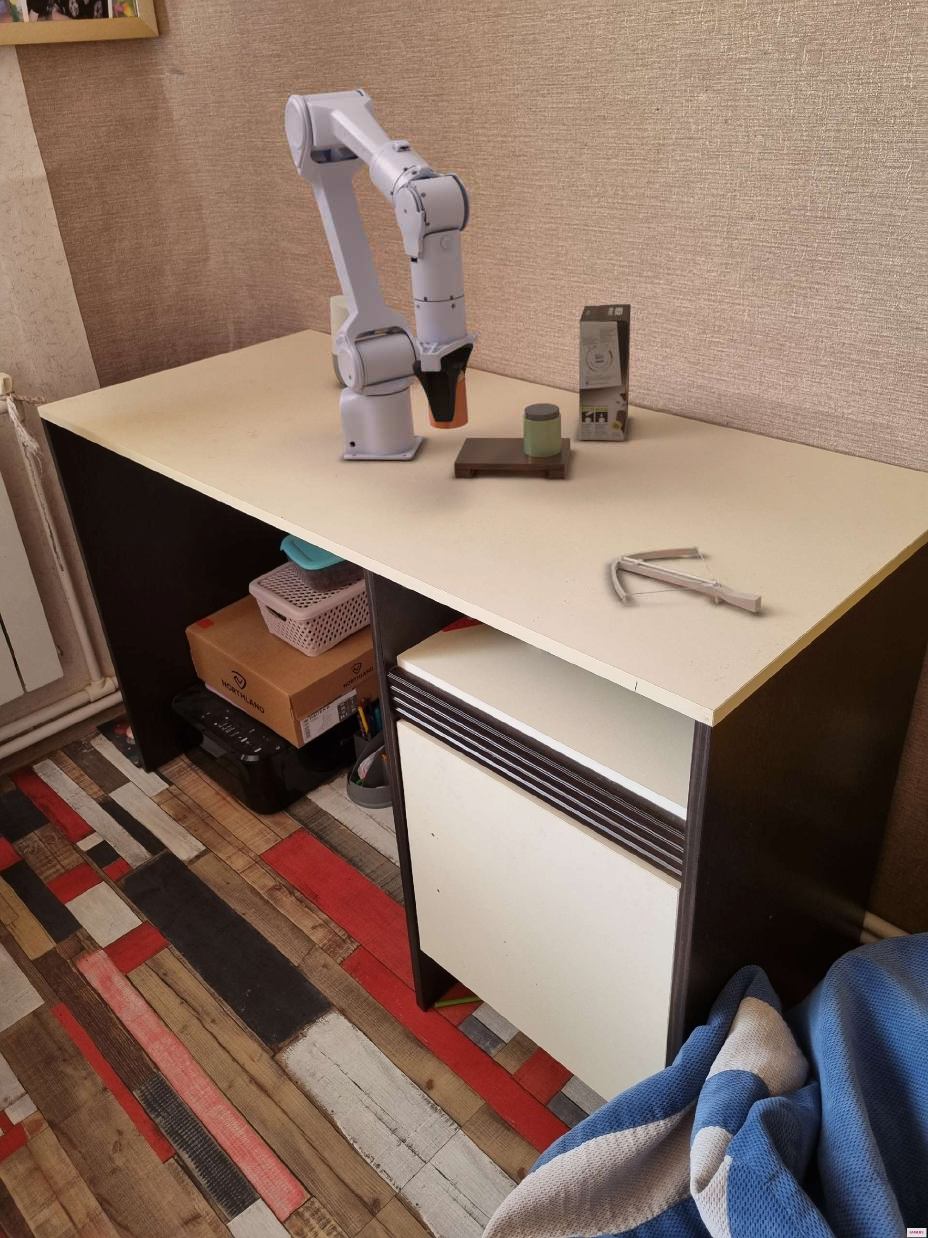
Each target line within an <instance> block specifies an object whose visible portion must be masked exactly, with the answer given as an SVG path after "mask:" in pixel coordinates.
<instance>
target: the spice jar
mask: <svg viewBox="0 0 928 1238" xmlns="http://www.w3.org/2000/svg"><path fill="white" fill-rule="evenodd" d="M466 380H467V379H466V376H465V377H464V374H463V370H461V371H460V374H459V378H458V382H457V388H456V398H455V412H454V417H453V421H452V422H435V420H434V418H433V415H432V412H431V409H430V405H429V402H428V401H427V406H428V407H427V408H428V417H429V425H430V426H431V427H433V428H434V429H438V430H453V429H457V428H461V427H463V426H465V425H467V424H468V423H469V410H468V395H467V394H468V393H467V381H466Z"/></svg>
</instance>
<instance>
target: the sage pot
mask: <svg viewBox="0 0 928 1238" xmlns="http://www.w3.org/2000/svg"><path fill="white" fill-rule="evenodd" d="M522 431H523V437H522V438H524V452H525V454H527V455H529V456H533V457H550V456H554V455H556V454H558V453H560V452H561V438H562V414H561V412H560V407H559V406H558V405H556V404H553V403H546V402H544V403H534V404H530V405H527V406H525V408H524V410H523V415H522Z"/></svg>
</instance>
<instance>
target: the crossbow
mask: <svg viewBox="0 0 928 1238" xmlns="http://www.w3.org/2000/svg"><path fill="white" fill-rule="evenodd" d="M693 555H699V556H700V558H701V560H702V561H703V562H704V565H705V566H706V568H707V570H708V571H709V574H710V575H711V577H712V578H713V579H711V578H709V579H707V578H705V577H701V576H697V575H693V574H690V573H686V572H683V571H679V570H675V569H671V568H668V567H664V566H660V565H658V564H657V565H656V564H654V563H649V562H646V561H644V560H647V559H653V558H664V557H672V556H693ZM610 567H611V579H612V583H613V585H614V588H615V591H616V592H617V594H618V595H619V597H620V598H621V602H623V603H627V596H632V595H644V594H652V593H662V592H663V593H664V592H673V591H683V590H684V591H685V590H696V591H700V592H703V593H707V594H710V595H712V599H714V600H715V603H716V604H719V603H720V602H722V601H725V602H726V603H729V604H731V605H734V606H737V607H739V608H742V609H744V610H746V611H749V612H752V613H756V612H757V611H759V610H760V609H761V608H762V595H759V594H754V593H748V592H742V591H737V590H734V589H732V588H731V587H729V586H727V585H725V584H723V583H721V582H717V580H716V578H715V576H714V575H713V573H712V571H711V570H710V568H709V566H708V564H707V562H706V560H705V559H704V557H703V555H702V554H701V552H700V551H699V546H695V545H693V546H689V547H687V546H686V547H670V548H660V549H650V550H649V549H648V550H642V551H636V552H631V553H627V554H622V555H620V556H619V557H617V558H615V559H613V560H612V564H611V565H610ZM619 569H621V570H626V571H629V572H631V573H636V574H639V575H644V576H646V577H647V576H648V577H651V578H654V579H658V580H661V581H665V582H667V583H670V584H671V583H672V584H675V585H679V586H682V587H685V588H675V589H665V590H655V591H645V592H644V591H643V592H634V593H633V592H632V593H626V592H625V591H624V589H623V587H622V586H621V584H620V581H619V580H618V577H617V571H618V570H619Z"/></svg>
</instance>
